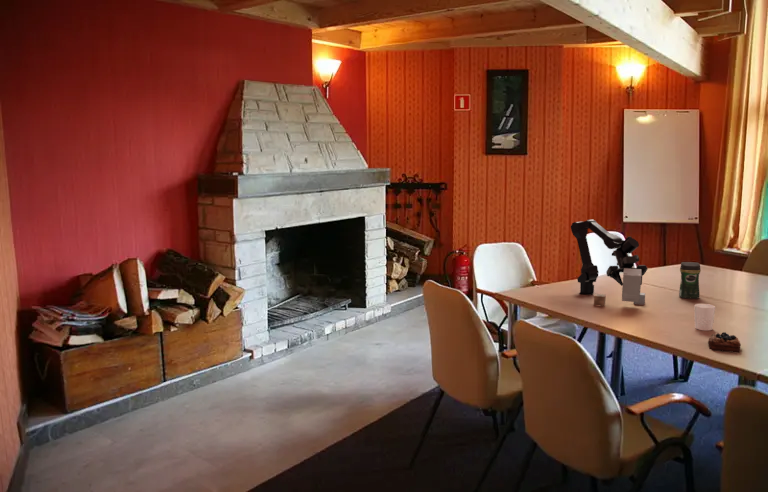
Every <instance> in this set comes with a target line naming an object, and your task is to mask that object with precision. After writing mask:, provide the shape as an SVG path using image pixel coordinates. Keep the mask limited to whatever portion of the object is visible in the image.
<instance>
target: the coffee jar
mask: <svg viewBox="0 0 768 492" xmlns="http://www.w3.org/2000/svg"><path fill="white" fill-rule="evenodd" d="M679 271H680V285H679V291H678V296H679V298H682V299H688V300H690V299H691V300H693V299H695V300H696V299H699V298H700V296H701V295H700V294H701V293H700V282H699V281H700V280H699V279H700V278H699V277H700V274H701V271H702V270H701V265H700V263H699V262H693V261H682V262H680V268H679Z"/></svg>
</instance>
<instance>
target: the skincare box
mask: <svg viewBox="0 0 768 492" xmlns="http://www.w3.org/2000/svg"><path fill="white" fill-rule="evenodd" d="M641 276H642V270H641V269H629V268H624V272H622V283H623V285H622V286H621V287H622V289H621V290H622V293H621V301H622V302H627V303H628V302H631V303H634V302H639V301H640V293H641V288H642V287H641V286H642V285H641ZM642 277H643V276H642Z"/></svg>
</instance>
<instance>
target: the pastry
mask: <svg viewBox="0 0 768 492" xmlns="http://www.w3.org/2000/svg"><path fill="white" fill-rule="evenodd" d="M707 344H708V347H709V350H711V351H718V352H725V353H727V352H728V353H740V351H741V345H742V344H741V341H740V340H739V337H737V336H736V335H734V334H733V335H730V334H729V333H727V332H726V331H725V332H722V333H716V334H714V333H713V334H711V335H710V336H709V339H708V341H707Z"/></svg>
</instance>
